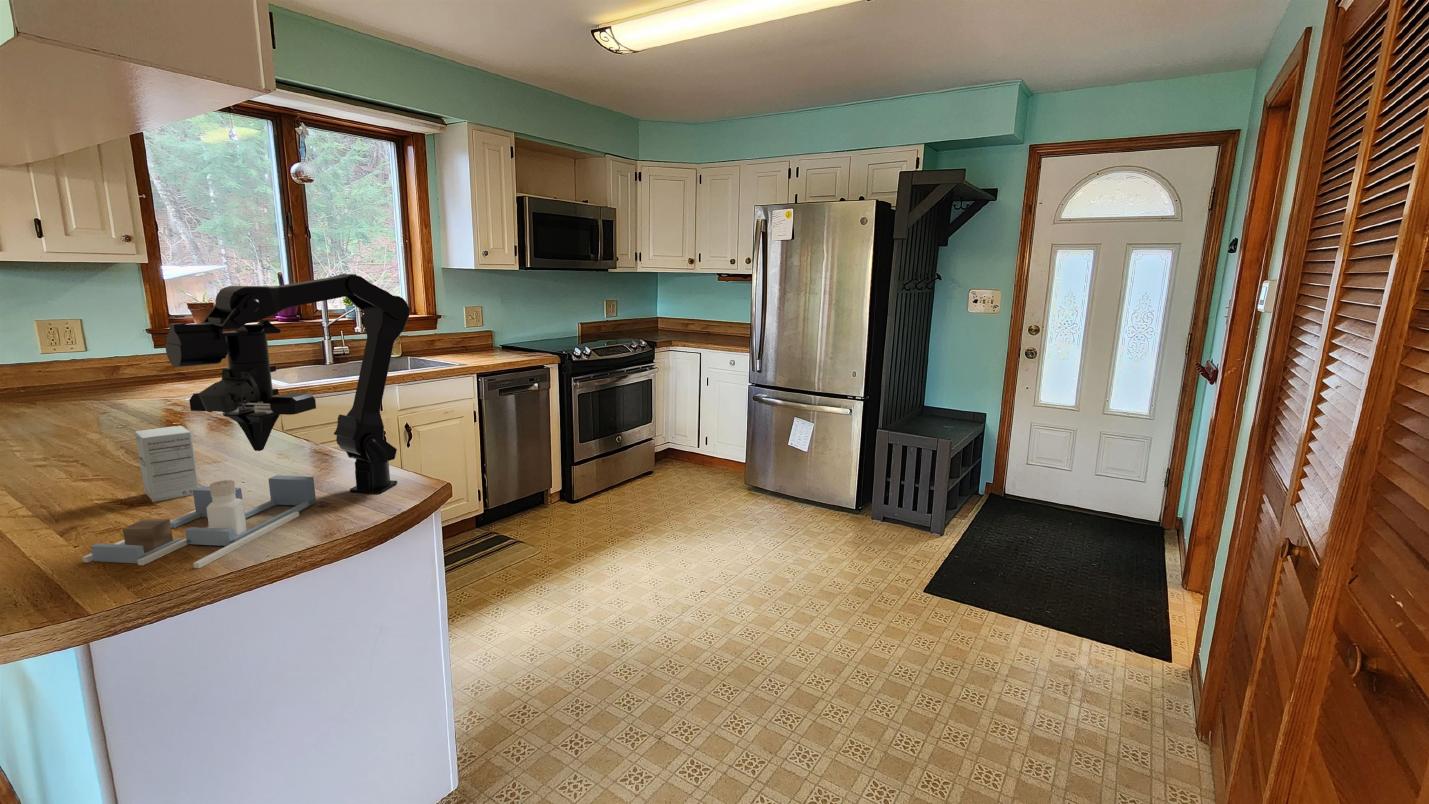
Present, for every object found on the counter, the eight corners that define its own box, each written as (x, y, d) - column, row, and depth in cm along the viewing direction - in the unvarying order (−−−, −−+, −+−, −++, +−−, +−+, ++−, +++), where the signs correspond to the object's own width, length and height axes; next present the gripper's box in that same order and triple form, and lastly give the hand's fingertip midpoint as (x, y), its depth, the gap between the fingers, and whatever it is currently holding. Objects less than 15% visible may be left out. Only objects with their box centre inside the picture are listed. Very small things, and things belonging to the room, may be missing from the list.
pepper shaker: (220, 534, 106) (212, 480, 105) (248, 532, 108) (241, 478, 106) (209, 544, 103) (201, 487, 101) (238, 542, 104) (231, 486, 102)
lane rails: (202, 511, 116) (201, 507, 116) (299, 515, 115) (298, 511, 115) (82, 562, 96) (81, 557, 96) (199, 568, 95) (198, 563, 94)
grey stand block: (279, 500, 122) (276, 475, 121) (316, 502, 121) (313, 476, 120) (187, 543, 102) (182, 514, 101) (230, 545, 102) (226, 516, 101)
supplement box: (143, 493, 125) (133, 430, 122) (191, 485, 130) (182, 424, 128) (151, 503, 120) (140, 437, 117) (200, 493, 125) (191, 430, 123)
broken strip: (206, 512, 116) (202, 486, 115) (244, 514, 115) (241, 487, 114) (93, 560, 96) (87, 529, 95) (139, 563, 96) (133, 531, 95)
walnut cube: (146, 542, 103) (142, 519, 102) (173, 542, 104) (169, 518, 103) (126, 553, 99) (122, 529, 98) (154, 552, 100) (150, 528, 99)
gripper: (153, 365, 101) (166, 460, 104) (264, 369, 100) (275, 466, 103) (212, 357, 112) (223, 443, 115) (313, 361, 111) (322, 448, 114)
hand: (259, 450), depth 112 cm, fingers closed
